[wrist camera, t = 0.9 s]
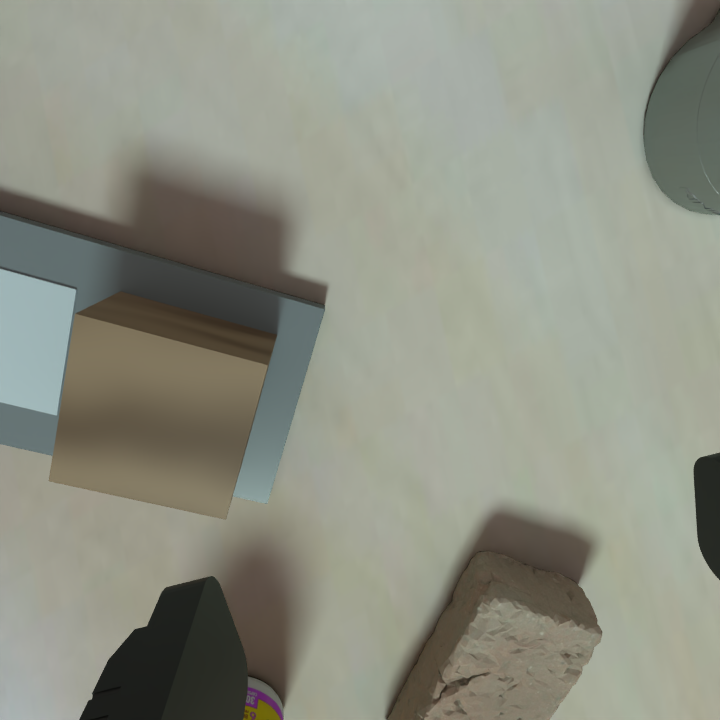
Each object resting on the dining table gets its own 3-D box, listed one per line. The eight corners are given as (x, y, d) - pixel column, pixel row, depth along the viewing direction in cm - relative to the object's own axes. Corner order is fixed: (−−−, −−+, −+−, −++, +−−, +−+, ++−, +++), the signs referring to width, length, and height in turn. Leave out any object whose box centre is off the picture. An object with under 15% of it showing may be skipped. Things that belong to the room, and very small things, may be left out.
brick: (471, 544, 34) (494, 598, 29) (582, 577, 35) (619, 633, 31) (376, 723, 38) (383, 794, 34) (477, 745, 40) (497, 816, 35)
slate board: (-35, 200, 25) (-51, 201, 24) (324, 305, 28) (324, 309, 27) (-55, 420, 28) (-70, 429, 27) (268, 494, 31) (267, 504, 30)
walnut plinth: (120, 291, 26) (75, 313, 21) (277, 334, 27) (267, 365, 22) (94, 432, 28) (48, 481, 23) (241, 466, 29) (225, 519, 24)
